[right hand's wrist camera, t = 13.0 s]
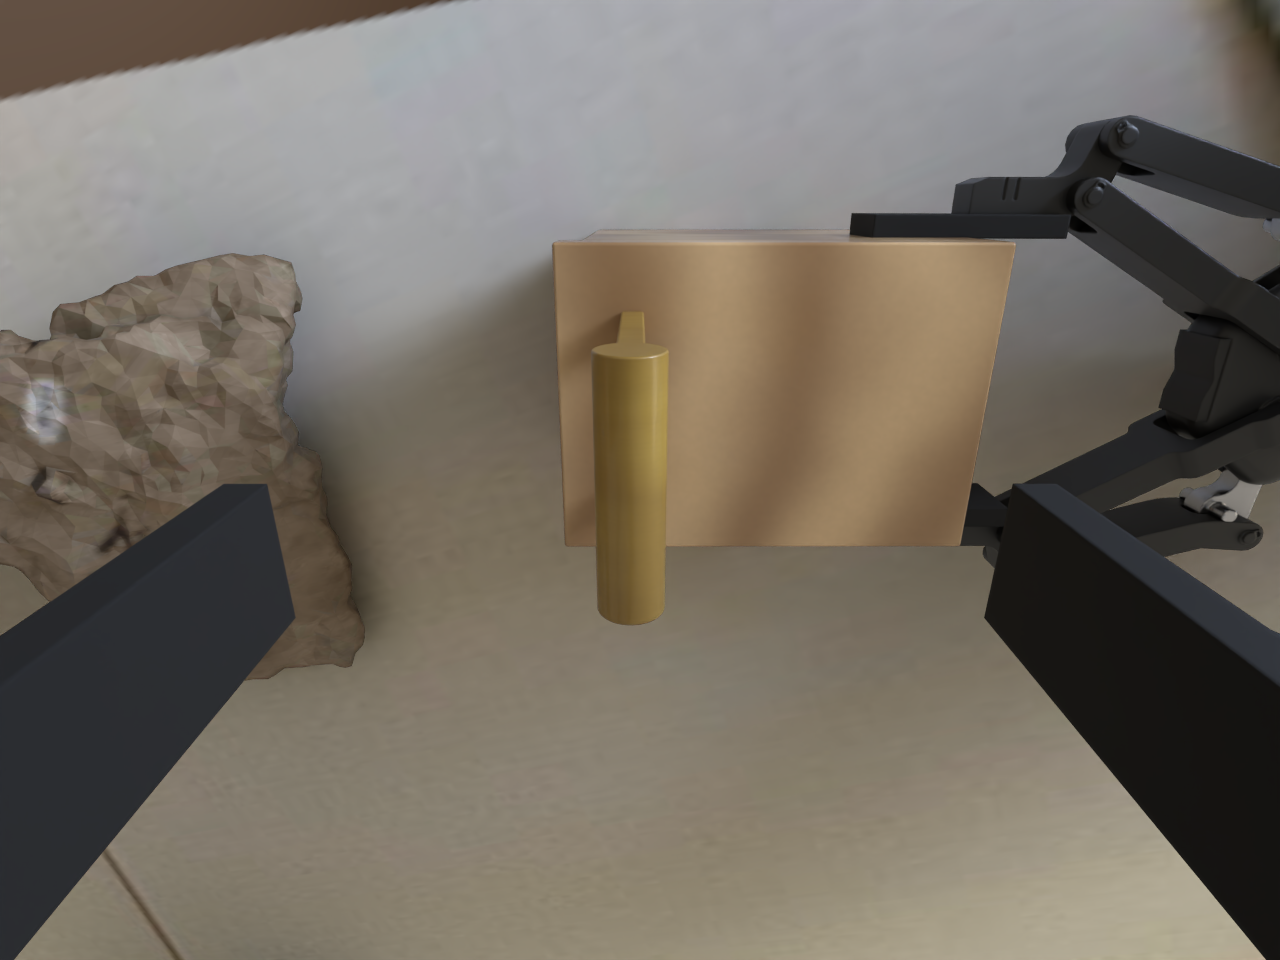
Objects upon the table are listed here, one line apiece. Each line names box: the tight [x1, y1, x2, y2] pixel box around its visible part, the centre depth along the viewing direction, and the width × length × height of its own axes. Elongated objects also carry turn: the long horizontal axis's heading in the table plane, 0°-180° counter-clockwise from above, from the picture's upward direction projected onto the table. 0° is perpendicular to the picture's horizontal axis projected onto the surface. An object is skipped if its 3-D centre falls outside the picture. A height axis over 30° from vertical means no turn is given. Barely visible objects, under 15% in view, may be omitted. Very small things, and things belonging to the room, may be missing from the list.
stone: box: [0, 253, 365, 680], centre depth 32 cm, size 21×15×6 cm
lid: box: [552, 240, 1016, 625], centre depth 19 cm, size 14×10×9 cm
